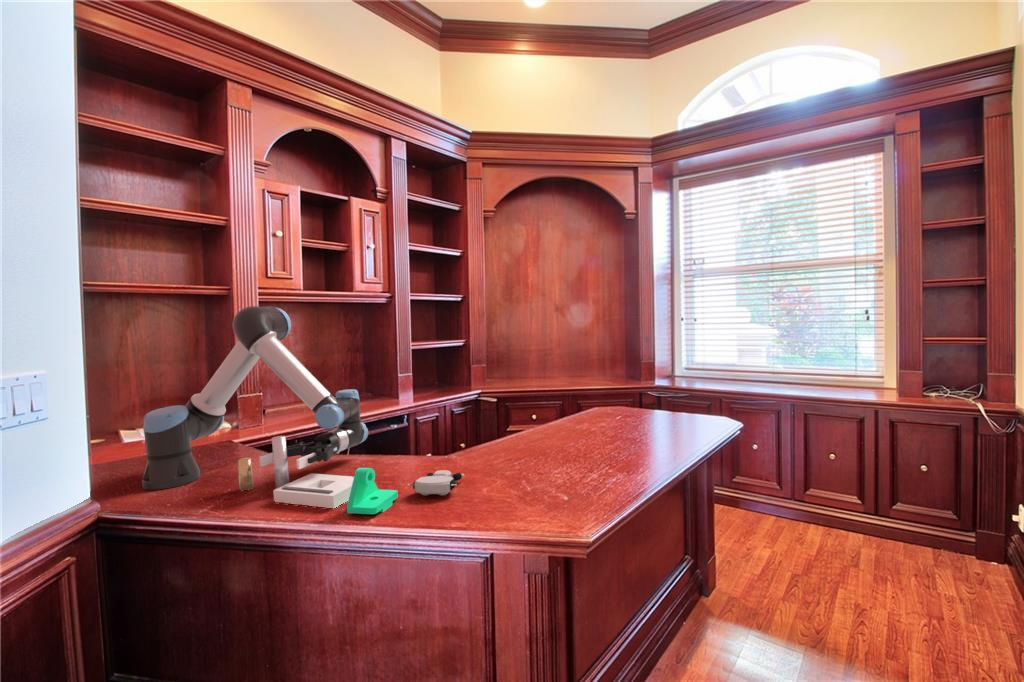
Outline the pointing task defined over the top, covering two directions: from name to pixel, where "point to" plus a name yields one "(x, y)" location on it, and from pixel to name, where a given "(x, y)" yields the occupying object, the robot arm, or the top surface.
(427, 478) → the robot toy
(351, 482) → the hole plate
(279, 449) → the long pin
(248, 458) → the short pin
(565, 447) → the top surface
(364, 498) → the camera mount
